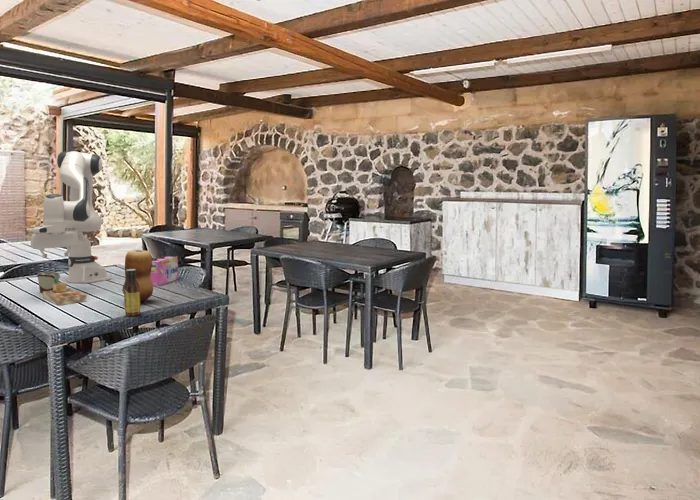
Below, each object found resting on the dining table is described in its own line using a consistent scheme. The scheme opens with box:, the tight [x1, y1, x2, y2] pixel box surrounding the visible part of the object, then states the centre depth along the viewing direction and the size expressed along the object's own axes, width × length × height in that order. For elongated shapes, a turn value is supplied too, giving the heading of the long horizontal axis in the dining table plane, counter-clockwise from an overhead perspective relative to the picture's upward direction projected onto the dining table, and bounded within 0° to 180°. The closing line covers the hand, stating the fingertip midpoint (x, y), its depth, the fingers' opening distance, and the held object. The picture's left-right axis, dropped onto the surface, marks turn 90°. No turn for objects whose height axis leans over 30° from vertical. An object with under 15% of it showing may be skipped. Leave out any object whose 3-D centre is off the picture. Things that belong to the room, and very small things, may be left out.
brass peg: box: [53, 281, 67, 293], centre depth 250 cm, size 4×4×7 cm
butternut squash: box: [122, 249, 154, 303], centre depth 243 cm, size 14×13×25 cm
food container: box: [36, 271, 61, 294], centre depth 260 cm, size 12×6×10 cm, turn 71°
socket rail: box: [42, 287, 87, 306], centre depth 246 cm, size 12×21×3 cm, turn 47°
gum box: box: [150, 255, 180, 287], centre depth 293 cm, size 24×8×14 cm, turn 170°
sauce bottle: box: [123, 269, 141, 317], centre depth 221 cm, size 7×6×20 cm
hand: (55, 257), depth 248 cm, fingers open, 8 cm apart
